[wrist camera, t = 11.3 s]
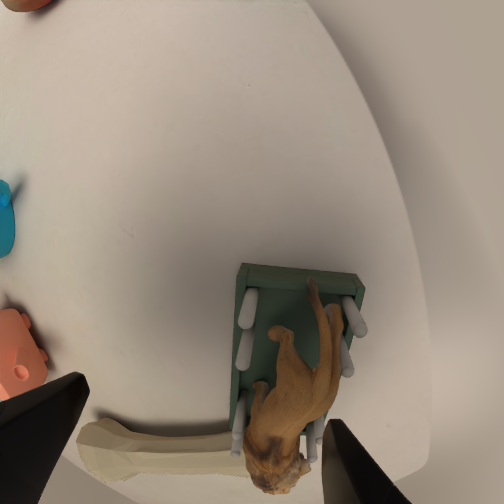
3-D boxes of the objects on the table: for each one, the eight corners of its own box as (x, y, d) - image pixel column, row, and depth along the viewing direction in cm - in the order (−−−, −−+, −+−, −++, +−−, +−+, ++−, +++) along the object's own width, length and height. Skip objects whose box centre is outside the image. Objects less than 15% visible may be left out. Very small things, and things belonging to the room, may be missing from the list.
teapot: (63, 339, 24) (9, 391, 14) (52, 388, 27) (15, 432, 18) (1, 273, 23) (-55, 305, 13) (-1, 333, 26) (-42, 365, 17)
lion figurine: (306, 412, 22) (307, 499, 14) (248, 408, 23) (235, 496, 15) (350, 275, 16) (393, 400, 8) (261, 267, 16) (242, 398, 8)
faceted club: (74, 403, 26) (272, 389, 23) (114, 433, 30) (291, 423, 27) (56, 461, 18) (281, 481, 15) (103, 485, 22) (299, 493, 19)
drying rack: (356, 273, 19) (385, 316, 13) (316, 416, 23) (321, 467, 17) (241, 262, 19) (225, 303, 13) (233, 410, 24) (222, 461, 18)
